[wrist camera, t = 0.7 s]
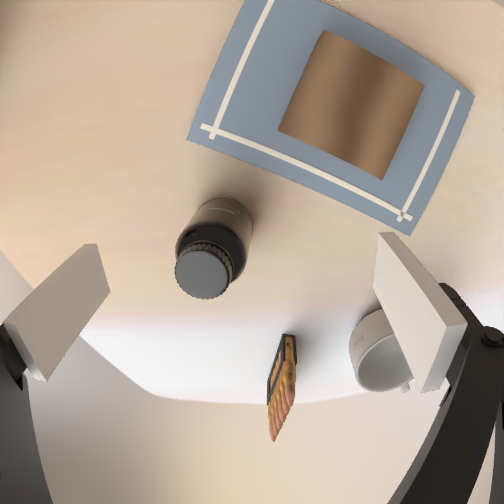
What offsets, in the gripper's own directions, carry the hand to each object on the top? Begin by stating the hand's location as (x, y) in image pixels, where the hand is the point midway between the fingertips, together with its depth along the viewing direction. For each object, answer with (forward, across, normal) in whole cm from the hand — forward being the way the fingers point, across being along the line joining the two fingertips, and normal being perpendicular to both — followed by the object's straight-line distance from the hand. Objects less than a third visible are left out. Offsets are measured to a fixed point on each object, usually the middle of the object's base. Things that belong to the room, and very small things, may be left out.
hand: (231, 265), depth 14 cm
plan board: (+22, +10, +7) cm, 25 cm away
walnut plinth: (+21, +10, +7) cm, 24 cm away
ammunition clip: (+22, +2, -28) cm, 36 cm away
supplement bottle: (+22, -4, -6) cm, 23 cm away
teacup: (+22, +17, -24) cm, 37 cm away
